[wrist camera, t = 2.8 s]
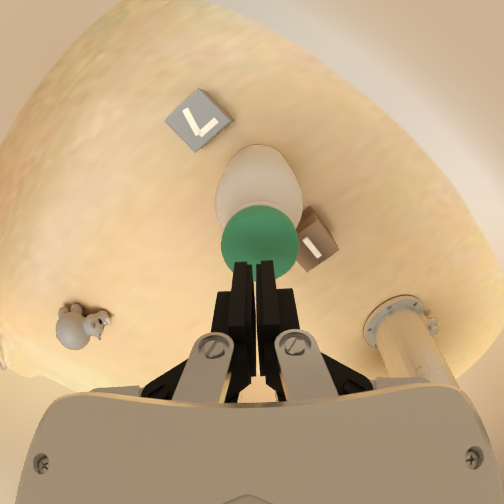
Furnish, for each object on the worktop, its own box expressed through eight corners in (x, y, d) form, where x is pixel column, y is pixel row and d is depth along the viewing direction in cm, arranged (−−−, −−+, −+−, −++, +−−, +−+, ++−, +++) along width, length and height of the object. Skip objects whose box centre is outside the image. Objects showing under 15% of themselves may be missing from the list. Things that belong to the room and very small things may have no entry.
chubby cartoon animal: (118, 319, 50) (118, 349, 43) (69, 331, 46) (64, 360, 39) (105, 291, 46) (102, 320, 39) (54, 304, 43) (45, 333, 36)
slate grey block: (206, 91, 28) (197, 88, 24) (233, 120, 30) (229, 121, 26) (176, 119, 30) (163, 120, 25) (203, 146, 32) (194, 152, 27)
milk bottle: (225, 145, 32) (185, 188, 14) (289, 143, 31) (332, 185, 14) (228, 204, 35) (202, 304, 18) (288, 202, 35) (320, 302, 18)
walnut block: (309, 205, 35) (317, 220, 31) (330, 232, 37) (339, 250, 33) (279, 227, 37) (283, 245, 32) (301, 252, 39) (307, 272, 34)
